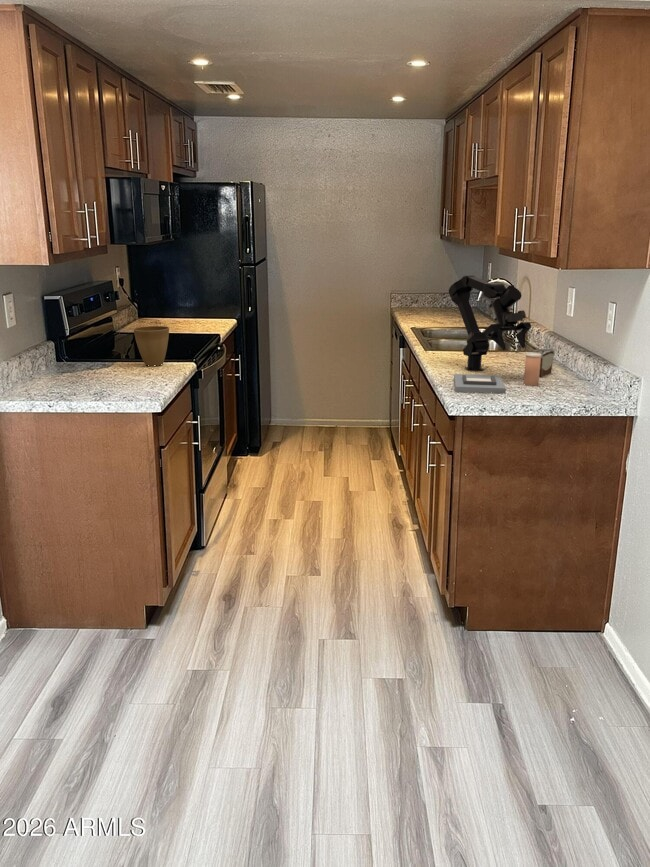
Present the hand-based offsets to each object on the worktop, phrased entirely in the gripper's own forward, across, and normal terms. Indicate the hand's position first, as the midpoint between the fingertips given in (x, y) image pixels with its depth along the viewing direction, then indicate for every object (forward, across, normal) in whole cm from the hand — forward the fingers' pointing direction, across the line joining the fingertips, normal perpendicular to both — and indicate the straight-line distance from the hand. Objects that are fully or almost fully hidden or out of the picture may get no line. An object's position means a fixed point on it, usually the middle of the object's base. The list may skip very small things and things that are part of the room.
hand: (514, 348), depth 289 cm
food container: (+7, +19, +12) cm, 23 cm away
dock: (+12, -17, +6) cm, 21 cm away
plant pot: (-39, -122, +80) cm, 151 cm away
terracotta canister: (+15, +3, +1) cm, 15 cm away
